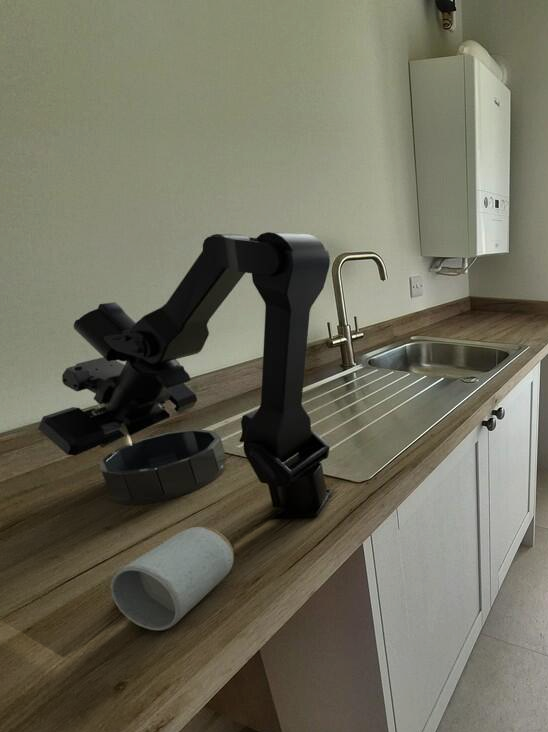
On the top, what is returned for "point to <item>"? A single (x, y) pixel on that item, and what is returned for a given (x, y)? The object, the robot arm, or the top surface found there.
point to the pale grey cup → (172, 577)
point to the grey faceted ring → (162, 465)
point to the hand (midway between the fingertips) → (112, 440)
